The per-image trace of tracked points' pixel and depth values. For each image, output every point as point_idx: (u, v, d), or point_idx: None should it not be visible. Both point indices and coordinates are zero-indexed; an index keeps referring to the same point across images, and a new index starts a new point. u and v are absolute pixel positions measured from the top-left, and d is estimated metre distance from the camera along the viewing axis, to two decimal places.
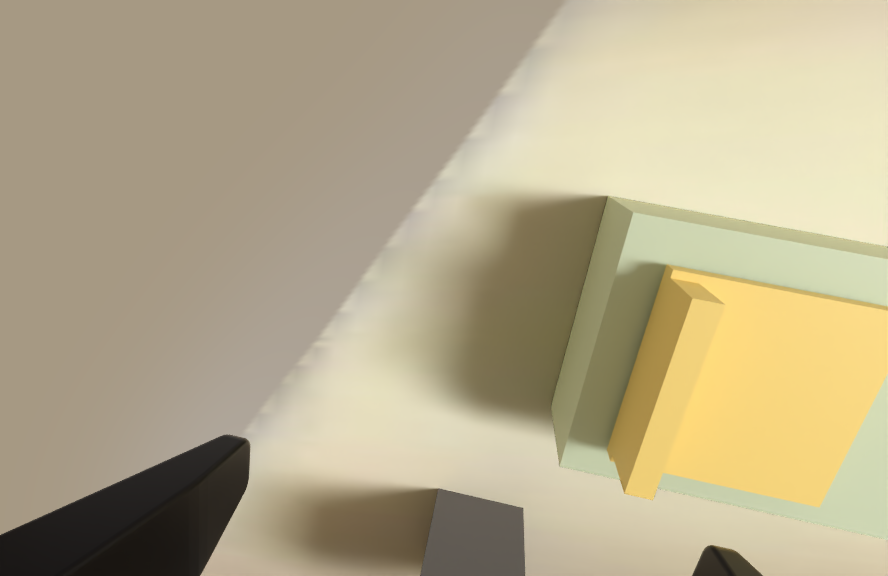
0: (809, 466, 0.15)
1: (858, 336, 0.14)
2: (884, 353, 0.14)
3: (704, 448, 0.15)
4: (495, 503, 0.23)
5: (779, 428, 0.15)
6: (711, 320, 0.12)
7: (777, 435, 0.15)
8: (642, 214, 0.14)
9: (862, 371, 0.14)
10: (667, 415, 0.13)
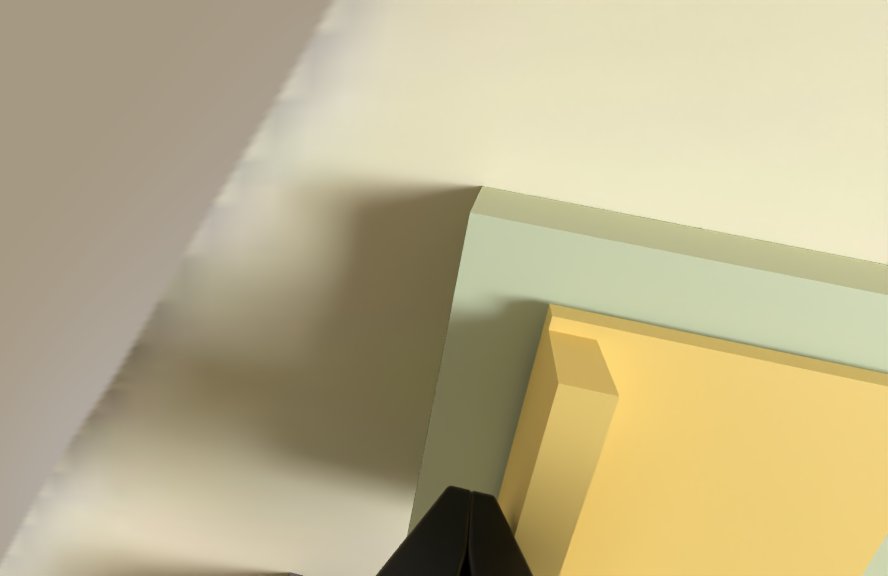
0: None
1: (864, 432, 0.08)
2: None
3: None
4: None
5: (733, 567, 0.09)
6: (595, 422, 0.07)
7: None
8: (485, 215, 0.09)
9: (870, 487, 0.08)
10: None
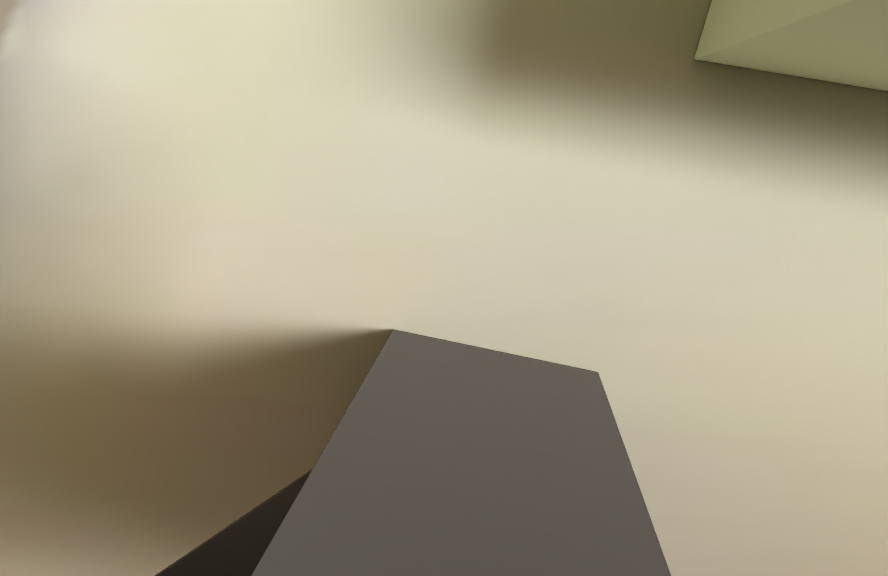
0: None
1: None
2: None
3: None
4: (531, 361, 0.09)
5: None
6: None
7: None
8: None
9: None
10: None
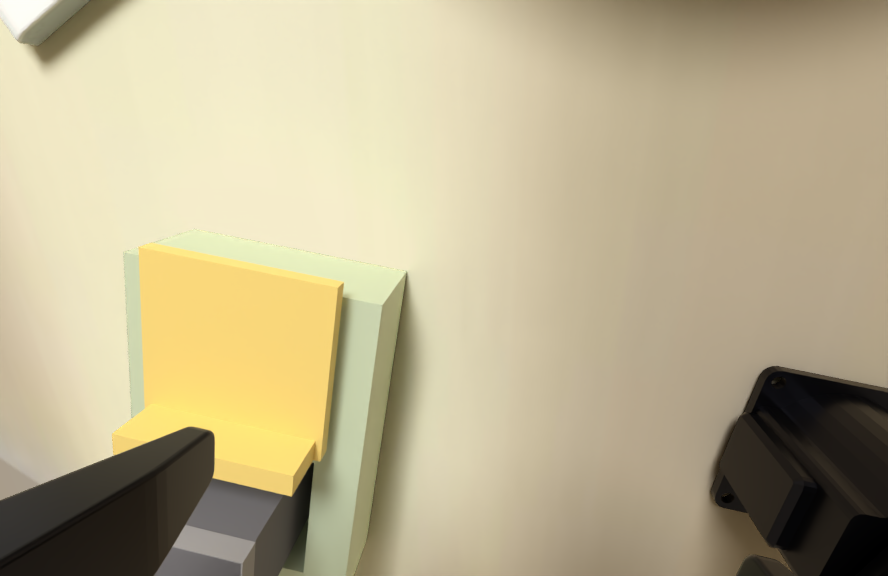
0: (293, 303, 0.15)
1: (165, 286, 0.16)
2: (174, 263, 0.15)
3: (292, 390, 0.16)
4: None
5: (260, 333, 0.16)
6: (126, 441, 0.16)
7: (267, 333, 0.16)
8: None
9: (193, 277, 0.16)
10: None
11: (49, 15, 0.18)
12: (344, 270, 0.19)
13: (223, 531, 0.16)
